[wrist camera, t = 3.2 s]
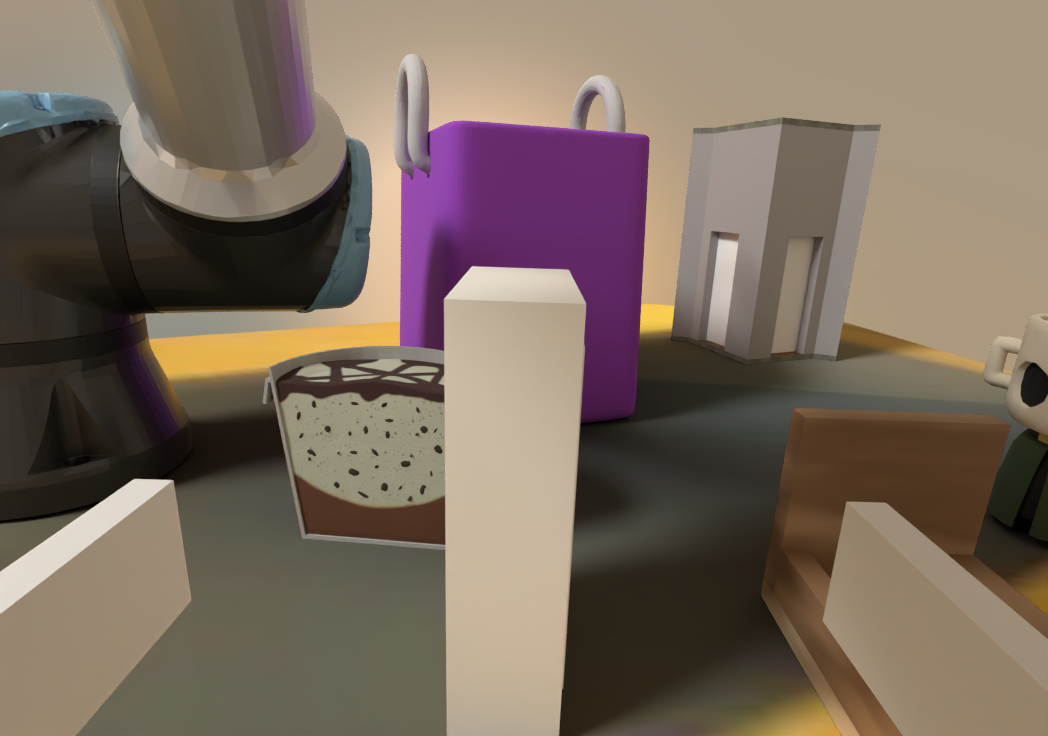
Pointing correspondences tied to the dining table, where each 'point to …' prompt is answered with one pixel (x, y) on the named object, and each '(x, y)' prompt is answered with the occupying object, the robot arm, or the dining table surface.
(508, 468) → the white rectangular box
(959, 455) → the wooden holder
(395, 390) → the food container
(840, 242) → the grey tall angular block
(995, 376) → the character mug
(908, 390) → the dining table surface
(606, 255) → the shopping bag
